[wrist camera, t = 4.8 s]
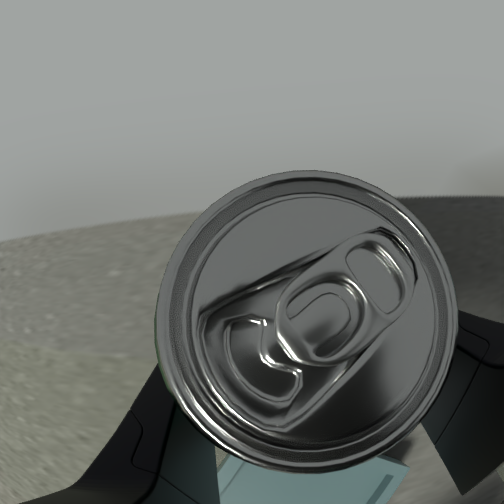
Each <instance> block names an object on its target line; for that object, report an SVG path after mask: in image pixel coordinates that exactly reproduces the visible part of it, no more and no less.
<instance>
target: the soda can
mask: <svg viewBox="0 0 504 504" xmlns="http://www.w3.org/2000/svg"><path fill="white" fill-rule="evenodd" d="M154 334H155V348H156V353H157V359H158V364H159V368H160V371H161V374H162V376H163V379H164V382H165V384H166V387H167V390H168V391H169V393H170V395H171V397H172V398H173V400H174V402H175V404H176V405H177V407H178V409H179V410H180V412H181V413H182V414H183V415H184V416H185V418H186V419H187V420H188V421H189V422H190V424H191V425H192V426H193V427H194V428H195V429H196V430H197V431H198V432H199V433H200V434H201V435H203V436H204V437H205V438H206V439H207V440H209V441H210V442H211V443H212V444H213V445H215V446H217V447H218V448H220V449H222V450H223V451H225V452H227V453H229V454H230V455H232V456H234V457H236V458H239V459H241V460H243V461H245V462H247V463H250V464H253V465H256V466H258V467H261V468H264V469H267V470H272V471H277V472H283V473H289V474H323V473H329V472H335V471H340V470H345V469H348V468H351V467H354V466H357V465H359V464H362V463H365V462H368V461H370V460H372V459H373V458H375V457H377V456H379V455H381V454H383V453H384V452H386V451H388V450H390V449H391V448H392V447H394V446H395V445H396V444H397V443H399V442H400V441H401V440H403V439H404V438H405V437H406V436H408V435H409V434H410V433H411V432H412V431H413V430H414V429H415V428H416V426H417V425H418V424H419V423H420V422H421V421H422V420H423V419H424V418H425V417H426V415H427V414H428V412H429V411H430V409H431V408H432V406H433V405H434V403H435V402H436V400H437V399H438V397H439V395H440V393H441V391H442V389H443V387H444V385H445V383H446V381H447V378H448V376H449V373H450V370H451V367H452V363H453V360H454V356H455V352H456V345H457V338H458V305H457V298H456V292H455V286H454V283H453V280H452V276H451V273H450V270H449V267H448V264H447V262H446V260H445V258H444V256H443V254H442V252H441V250H440V248H439V246H438V244H437V243H436V241H435V240H434V238H433V237H432V235H431V234H430V232H429V231H428V229H427V228H426V227H425V226H424V225H423V223H422V222H421V221H420V220H419V219H418V218H417V217H416V216H415V215H414V213H413V212H411V211H410V210H409V209H408V208H407V207H406V206H404V205H403V204H402V203H401V202H400V201H398V200H397V199H396V198H394V197H393V196H391V195H390V194H388V193H386V192H384V191H383V190H381V189H380V188H378V187H376V186H374V185H372V184H369V183H367V182H364V181H362V180H360V179H358V178H354V177H350V176H347V175H343V174H339V173H334V172H326V171H318V170H302V171H289V172H283V173H277V174H272V175H268V176H266V177H262V178H259V179H256V180H253V181H250V182H248V183H246V184H244V185H242V186H240V187H238V188H236V189H234V190H232V191H230V192H229V193H227V194H226V195H225V196H223V197H222V198H220V199H219V200H217V201H216V202H215V203H213V204H212V205H211V206H210V207H209V208H208V209H206V210H205V211H204V212H203V213H202V214H201V215H200V216H199V217H198V218H197V219H196V220H195V221H194V222H193V224H192V225H191V226H190V228H189V229H188V230H187V232H186V233H185V234H184V236H183V237H182V238H181V240H180V241H179V243H178V245H177V247H176V249H175V251H174V252H173V254H172V256H171V258H170V260H169V262H168V264H167V267H166V270H165V273H164V276H163V279H162V283H161V286H160V290H159V294H158V298H157V305H156V311H155V318H154Z"/></svg>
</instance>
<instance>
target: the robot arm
mask: <svg viewBox="0 0 504 504" xmlns="http://www.w3.org/2000/svg"><path fill="white" fill-rule="evenodd" d="M421 424H422V425H423V427H424V429H425V430H426V432H427V434H428V436H429V437H430V439H431V441H432V443H433V444H434V445H435V448H436V450H437V452H438V453H439V455H440V457H441V459H442V460H443V462H444V464H445V466H446V468H447V469H448V471H449V473H450V475H451V477H452V479H453V480H454V482H455V484H456V486H457V488H458V490H459V492H460V493H461V495H464V494H465V493H467V492H468V491H470V490H471V489H472V488H474V487H475V486H476V485H478V484H479V483H480V482H482V481H483V480H484V479H485V478H487V477H488V476H489V475H491V474H492V473H493V472H494V471H495V470H496V471H497V473H498V474H499V476H500V478H501V479H502V481H503V482H504V324H503V323H499V322H495V321H492V320H488V319H485V318H481V317H478V316H475V315H472V314H469V313H466V312H463V311H460V310H458V338H457V345H456V352H455V356H454V360H453V363H452V367H451V370H450V373H449V376H448V378H447V381H446V383H445V385H444V387H443V389H442V391H441V393H440V395H439V397H438V399H437V400H436V402H435V403H434V405H433V406H432V408H431V409H430V411H429V412H428V414H427V415H426V417H425V418H424V419H423V420H422V421H421ZM19 504H220V496H219V486H218V477H217V467H216V456H215V445H213V444H212V443H211V442H210V441H209V440H207V439H206V438H205V437H204V436H203V435H201V434H200V433H199V432H198V431H197V430H196V429H195V428H194V427H193V426H192V425H191V424H190V422H189V421H188V420H187V419H186V418H185V416H184V415H183V414H182V413H181V412H180V410H179V409H178V407H177V405H176V404H175V402H174V400H173V398H172V397H171V395H170V393H169V391H168V390H167V387H166V384H165V382H164V379H163V376H162V374H161V371H160V368H159V364H157V365H156V367H155V369H154V370H153V372H152V373H151V375H150V377H149V378H148V380H147V381H146V383H145V385H144V386H143V388H142V390H141V391H140V393H139V395H138V396H137V398H136V399H135V401H134V403H133V404H132V406H131V408H130V410H129V411H128V412H127V414H126V416H125V417H124V419H123V421H122V422H121V424H120V425H119V427H118V428H117V430H116V431H115V433H114V434H113V436H112V437H111V438H110V440H109V441H108V443H107V444H106V445H105V447H104V448H103V449H102V451H101V452H100V453H99V455H98V456H97V457H96V459H95V460H94V461H93V462H92V464H91V465H90V466H89V468H88V469H87V470H86V472H85V473H84V474H83V475H82V477H81V478H80V479H79V480H78V481H77V482H76V483H74V484H73V485H72V486H70V487H68V488H66V489H63V490H61V491H58V492H55V493H52V494H49V495H46V496H43V497H40V498H36V499H33V500H30V501H26V502H23V503H19ZM501 504H504V501H503V502H502V503H501Z"/></svg>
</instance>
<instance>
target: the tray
mask: <svg viewBox="0 0 504 504" xmlns="http://www.w3.org/2000/svg"><path fill="white" fill-rule="evenodd" d="M409 469H410V467H408V466H407V465H405V464H404V463H402V462H401V461H399V460H397V459H394V458H391V457H388V456H385V455H382V454H381V455H379V456H377V457H375V458H373V459H372V460H370V461H368V462H365V463H362V464H359V465H357V466H354V467H351V468H348V469H345V470H340V471H335V472H329V473H323V474H289V473H283V472H277V471H272V470H267V469H264V468H261V467H258V466H256V465H253V464H250V463H247V462H245V461H243V460H241V459H239V458H236V457H234V456H232V455H230V454H229V453H228V454H227V455H226V457H225V458H224V460H223V461H222V463H221V464H220V465H219V467H218V468H217V477H218V486H219V496H220V504H386V503H387V502H388V500H389V499H390V497H391V496H392V495H393V493H394V492H395V490H396V489H397V487H398V486H399V484H400V483H401V481H402V480H403V478H404V477H405V475H406V474H407V472H408V471H409Z"/></svg>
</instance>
